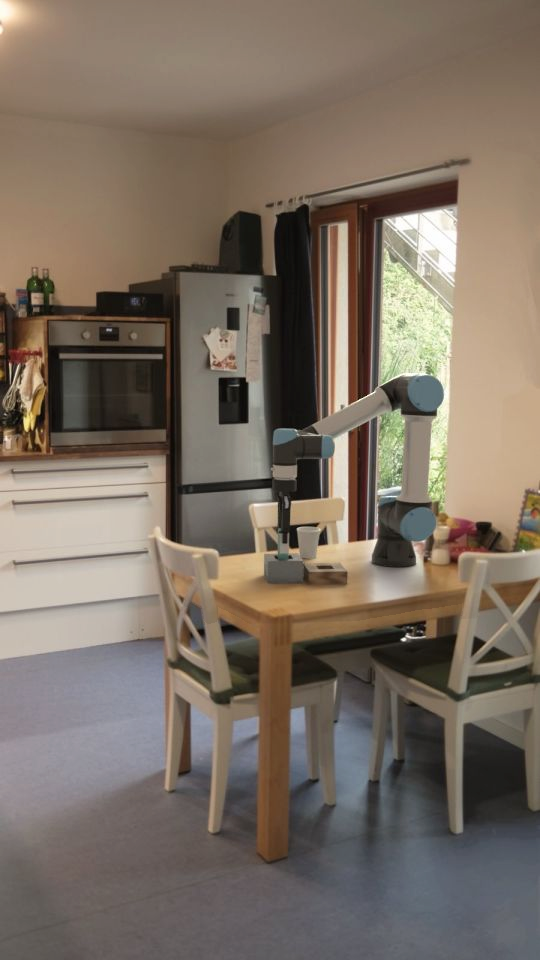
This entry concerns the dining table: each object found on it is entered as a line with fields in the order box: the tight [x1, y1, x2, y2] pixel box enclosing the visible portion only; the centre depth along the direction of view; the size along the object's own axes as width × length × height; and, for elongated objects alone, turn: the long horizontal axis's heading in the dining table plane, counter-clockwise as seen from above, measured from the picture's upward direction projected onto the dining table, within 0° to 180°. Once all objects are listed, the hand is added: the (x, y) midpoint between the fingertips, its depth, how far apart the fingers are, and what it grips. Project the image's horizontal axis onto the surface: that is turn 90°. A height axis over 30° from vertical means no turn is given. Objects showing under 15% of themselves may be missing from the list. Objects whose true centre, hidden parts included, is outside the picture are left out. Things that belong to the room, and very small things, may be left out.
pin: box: [277, 527, 289, 559], centre depth 308 cm, size 4×4×14 cm
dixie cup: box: [296, 526, 321, 560], centre depth 341 cm, size 8×8×10 cm
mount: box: [303, 562, 348, 586], centre depth 308 cm, size 12×12×4 cm
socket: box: [263, 552, 304, 584], centre depth 309 cm, size 11×11×7 cm
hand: (283, 551), depth 308 cm, fingers closed on pin, 3 cm apart
